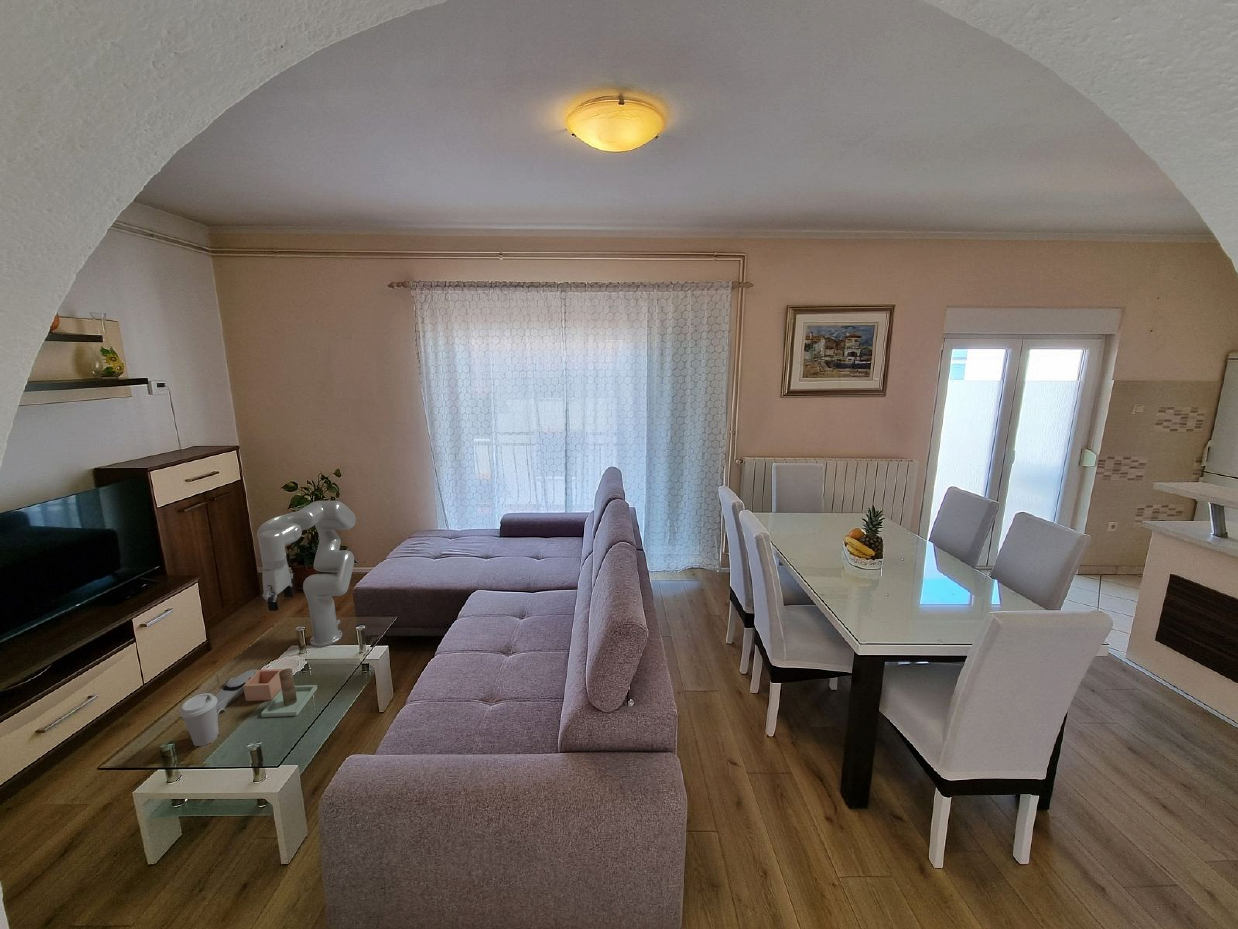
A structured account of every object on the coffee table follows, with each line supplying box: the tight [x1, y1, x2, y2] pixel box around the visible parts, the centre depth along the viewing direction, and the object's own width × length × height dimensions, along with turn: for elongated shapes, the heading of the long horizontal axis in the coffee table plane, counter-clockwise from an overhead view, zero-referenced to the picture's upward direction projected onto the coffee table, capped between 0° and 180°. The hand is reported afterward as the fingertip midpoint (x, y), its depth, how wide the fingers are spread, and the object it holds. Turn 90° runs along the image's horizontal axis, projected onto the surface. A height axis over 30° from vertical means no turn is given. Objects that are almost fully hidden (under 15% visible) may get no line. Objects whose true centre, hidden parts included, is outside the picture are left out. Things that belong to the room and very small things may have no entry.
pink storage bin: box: [243, 668, 284, 702], centre depth 183 cm, size 9×9×8 cm
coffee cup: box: [179, 692, 220, 747], centre depth 161 cm, size 10×10×15 cm
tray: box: [260, 684, 318, 718], centre depth 179 cm, size 14×12×2 cm
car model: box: [214, 669, 259, 719], centre depth 181 cm, size 11×24×5 cm, turn 177°
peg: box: [279, 667, 297, 706], centre depth 177 cm, size 4×4×13 cm
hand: (281, 603), depth 185 cm, fingers open, 9 cm apart
